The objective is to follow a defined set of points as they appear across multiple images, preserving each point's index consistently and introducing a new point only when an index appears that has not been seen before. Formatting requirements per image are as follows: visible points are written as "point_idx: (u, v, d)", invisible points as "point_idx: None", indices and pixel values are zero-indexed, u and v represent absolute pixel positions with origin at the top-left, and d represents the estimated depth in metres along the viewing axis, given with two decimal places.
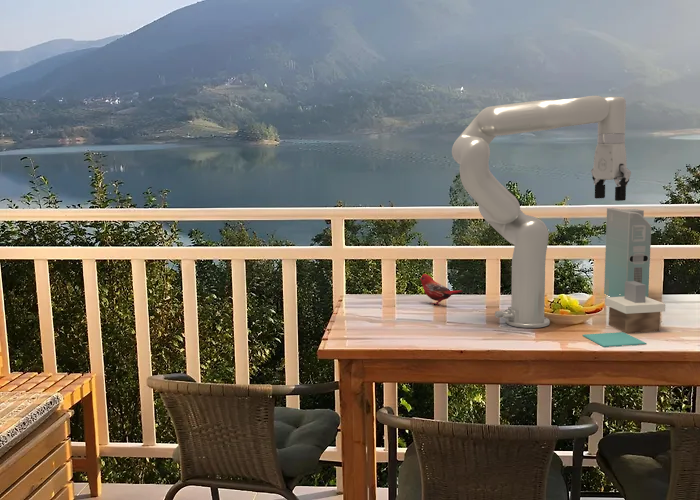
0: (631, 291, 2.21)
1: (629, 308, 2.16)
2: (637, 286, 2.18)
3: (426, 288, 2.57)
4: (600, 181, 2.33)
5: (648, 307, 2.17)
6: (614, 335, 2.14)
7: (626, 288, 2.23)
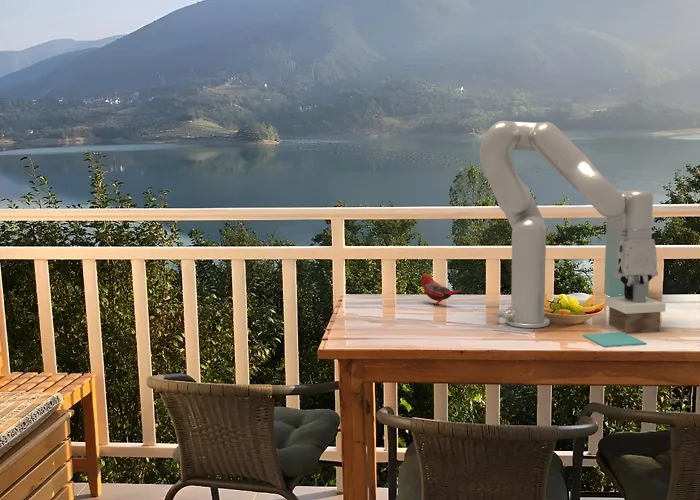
0: None
1: (629, 308, 2.16)
2: (637, 286, 2.18)
3: (426, 288, 2.57)
4: None
5: (648, 307, 2.17)
6: (614, 335, 2.14)
7: None
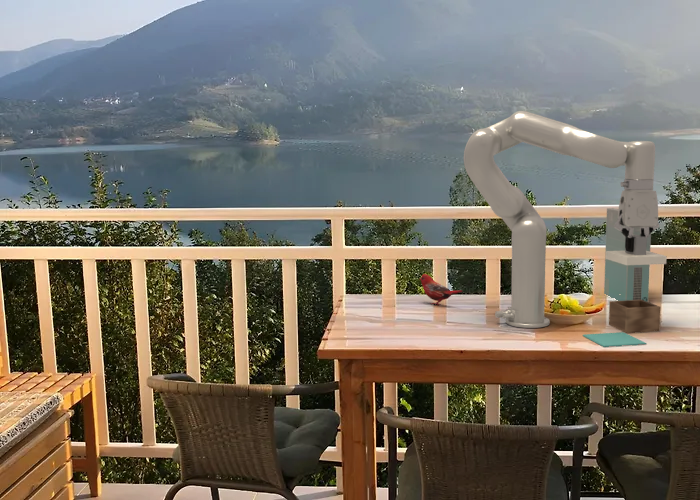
0: None
1: (630, 260, 2.14)
2: (638, 238, 2.16)
3: (426, 288, 2.57)
4: None
5: (649, 259, 2.15)
6: (614, 335, 2.14)
7: None
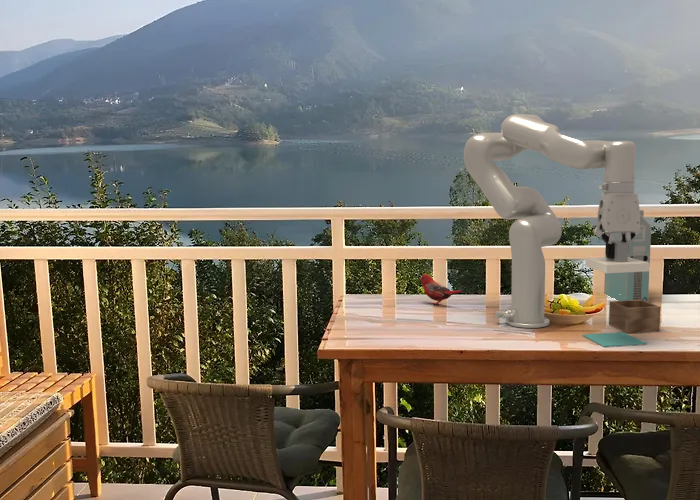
0: None
1: (610, 267, 2.01)
2: (619, 244, 2.03)
3: (426, 288, 2.57)
4: None
5: (631, 266, 2.02)
6: (614, 335, 2.14)
7: None
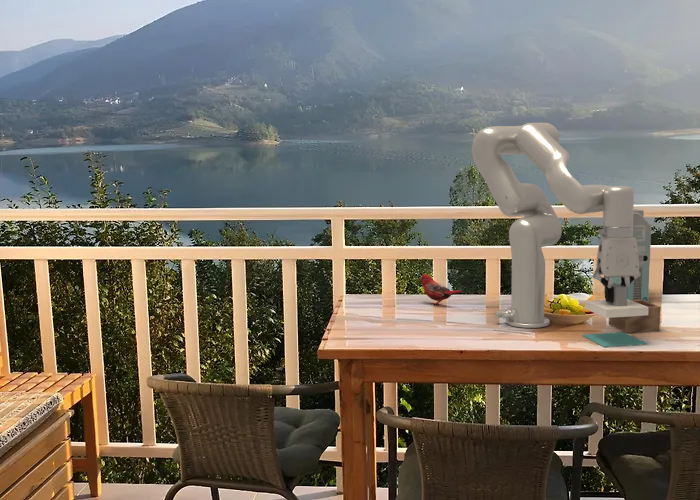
0: None
1: (610, 312, 2.02)
2: (618, 288, 2.05)
3: (426, 288, 2.57)
4: None
5: (630, 311, 2.03)
6: (614, 335, 2.14)
7: None
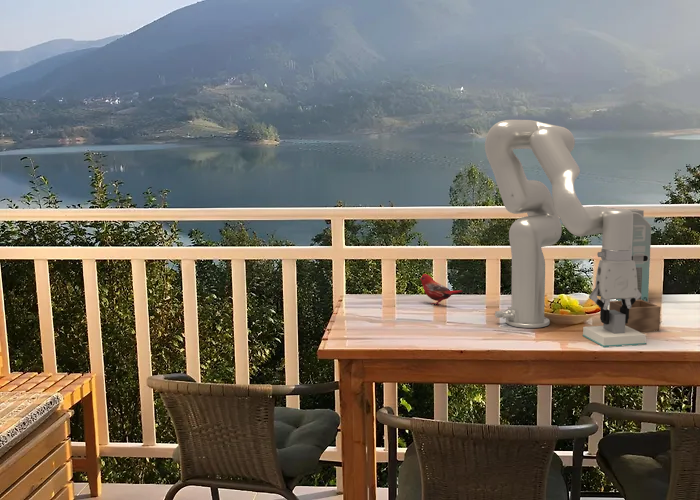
0: (610, 321, 2.09)
1: (607, 340, 2.04)
2: (616, 316, 2.06)
3: (426, 288, 2.57)
4: None
5: (627, 338, 2.05)
6: None
7: None
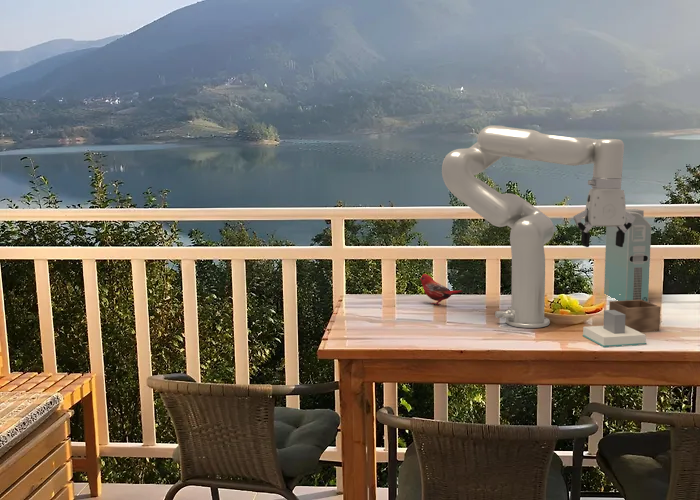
0: (610, 321, 2.09)
1: (607, 340, 2.04)
2: (616, 316, 2.06)
3: (426, 288, 2.57)
4: None
5: (627, 338, 2.05)
6: None
7: (605, 317, 2.11)
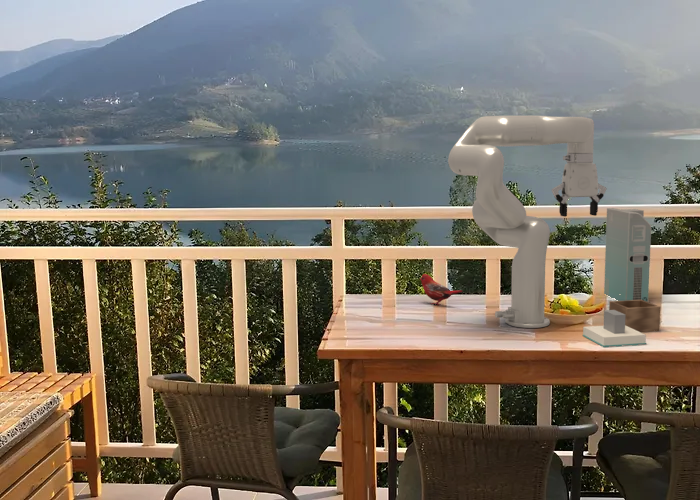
0: (610, 321, 2.09)
1: (607, 340, 2.04)
2: (616, 316, 2.06)
3: (426, 288, 2.57)
4: None
5: (627, 338, 2.05)
6: None
7: (605, 317, 2.11)
